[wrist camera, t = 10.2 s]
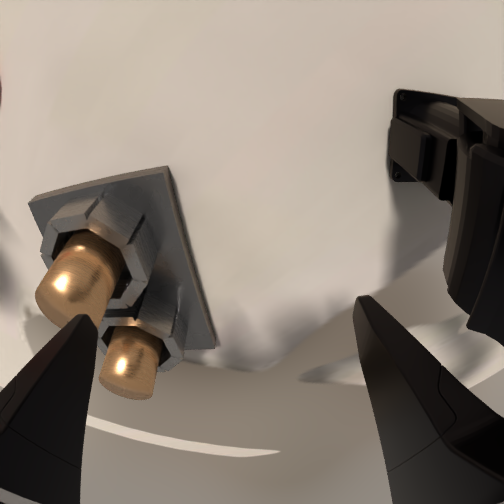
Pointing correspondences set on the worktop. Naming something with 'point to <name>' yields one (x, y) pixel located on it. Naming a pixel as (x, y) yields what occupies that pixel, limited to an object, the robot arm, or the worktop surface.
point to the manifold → (134, 273)
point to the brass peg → (80, 279)
